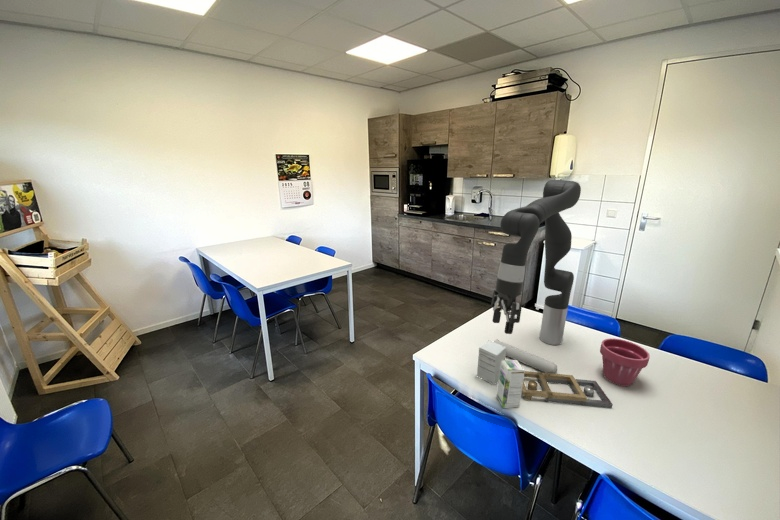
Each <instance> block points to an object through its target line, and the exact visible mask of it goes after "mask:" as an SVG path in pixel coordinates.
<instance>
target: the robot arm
mask: <svg viewBox="0 0 780 520" xmlns="http://www.w3.org/2000/svg"><path fill="white" fill-rule="evenodd" d="M581 187H582V186H581V184H580V183H579V182H577V181H573V180H566V179H565V180H564V179H563V180H562V179H549V180H547V181H546V182H545V184H544V187H543V189H542V197H541V198H538V199H535V200H533V201H532V202H530V203H528V204H527V205H526V206H521V207H517V208H515V209H511V210H508V211H507V212H506V213H505V214H504V215H503V216H502V217H501V219H500V229H501V231H502V232H503V233H504V234H505V235H508V236H514V237H519V240H518V241H517V242H516V243H515V242H514V243H513V242H512V243H505V244H504V245H503V248H502V253H501V259H500V264H499V267H498V270H497V271H498V272H497V278H496V284H495V289H494V290H493V292H492V296H491V297H492V298H491V302H490V308H492V311H493V313H492V314H493V315H492V322H493V323H494V324H500V321H501V317H502V316H501V315H502V311H503V314H504V315H505V319H506V322H505V326H504V327H505V328H504V334H506V335H507V334H508V335H512V334H513V331H514V326H515V324H517V323H518V324H519V323H520V321H521V314H522V308H523V303H521V302H517V297H519V296H521V294H522V290H523V286H524V285H523V283H524V278H525V272H526V263H527V259H528V258H527V257H528V254H529V251H530V248H531V245H532V243H533V241H534V239H535V237H536V235H537V233H538V231H539V229H540V224H542V223H543V222H544V225H545V226H544V228H545V229H544V247H545V249H544V250H545V251H544V252H545V253H544V254H545V264H544V272H543V273H544V275H543V285H544V287H545V288H546V289H548V290H550V291H554V292H555V291H556V292H560V294H559V293H558V294H553V295H552V294H551V295H547V296H545V297H544V298H545V299H544V304H543V311H542V317H541V325H540V331H539V340H540V341H541V342H543V343H545V344H547V345H550V346H551V345H553V346H557V345H558V346H559V345H561V344H562V342H563V337H564V332H565V326H566V321H567V315H568V309H569V304H570V303H569V302H570V298H571V293H572V288H573V285H574V279H575V276H574V273H573V272H572V271H569V270H563V269H558V268H556V265H557V264H558V263H559V262H560V261H561V260H562V259H563V258H564V257H566V256H567V255H568V253H569V252H570V251H571V248H572V239H573V238H572V231H571V230H570V227H569V226H568V224H567V223H566V222H565V220H564V219H563V217H562V216H561V214H560V213H561V212H563V211H565V210H569V209H571V208H573V207H574V206H575V205H577V204H578V202H579V199H580V196H581V194H582V193H581V192H582V188H581Z"/></svg>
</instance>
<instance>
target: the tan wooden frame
mask: <svg viewBox="0 0 780 520" xmlns="http://www.w3.org/2000/svg"><path fill="white" fill-rule="evenodd" d="M525 378H533V380H532V379H530V380H528V382H527V387H526V383H525V381H524V380H525ZM537 378H539V380H540V382H541V385H542V387H543V389H544V391H542V390H538V381H535V380H534V379H537ZM546 379H553V380H564V381H570V383H571V385H572V386H573V388H574V390H575V392H576V393H577V394H574V393H568V392H557V391H552V390H551V388H550V386H549V383H547V381H546ZM575 379H576V378H575V376H574V375H573V374H561V373H555V374H553V373H546V372H543V371H541V372H540V371H527V370H525V373H524V379H523V386H522V393H521V396H523V397H524V400H525V401H532V398H542V399H546V398H552V399H562V400H572V401H582V402H586V401H587V399H588V398H587V396H585V394H584V392H583V391H584V390H582V388H581V386H580V385H579V384H578V383H577V381H576V380H575Z"/></svg>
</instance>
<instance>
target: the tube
mask: <svg viewBox="0 0 780 520" xmlns="http://www.w3.org/2000/svg"><path fill="white" fill-rule="evenodd" d="M493 342H495V343H497V344H500V345H502V346H504V347H506V356H505V357H509V358H510V357H511V359H512V360H518V362H519V363H522V364H524V363H525V364H524V365H527V366H529V367H532V368H534V369H536V370H540V371H541V372H542V373H553V374H557V372H558V365H557V364H556V363H555V362H554V361H551V360H549V359H546V358H544V357H541V356H539V355H536V354H533V353H531V352H529V351H526V350H523V349H521V348H519V347H517V346H513V345H512V344H509V343H506V342H503V341H501V340H499V339H498V338H496V339H495V340H494V341H493Z"/></svg>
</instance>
